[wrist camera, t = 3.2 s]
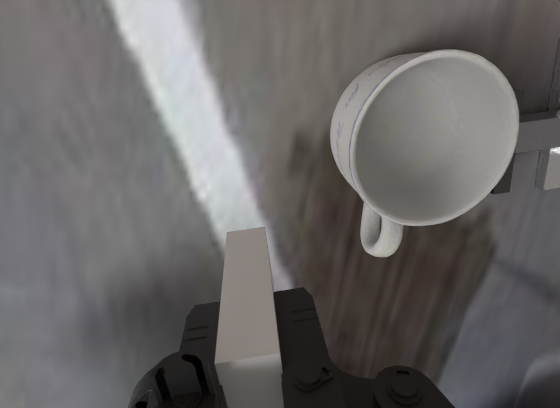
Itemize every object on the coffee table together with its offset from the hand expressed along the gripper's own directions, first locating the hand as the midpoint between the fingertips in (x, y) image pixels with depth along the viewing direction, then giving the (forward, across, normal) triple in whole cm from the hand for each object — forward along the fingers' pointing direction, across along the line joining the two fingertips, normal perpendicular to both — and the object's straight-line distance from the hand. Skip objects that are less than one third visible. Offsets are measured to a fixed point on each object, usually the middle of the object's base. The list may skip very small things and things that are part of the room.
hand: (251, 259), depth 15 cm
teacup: (+16, +11, 0) cm, 19 cm away
